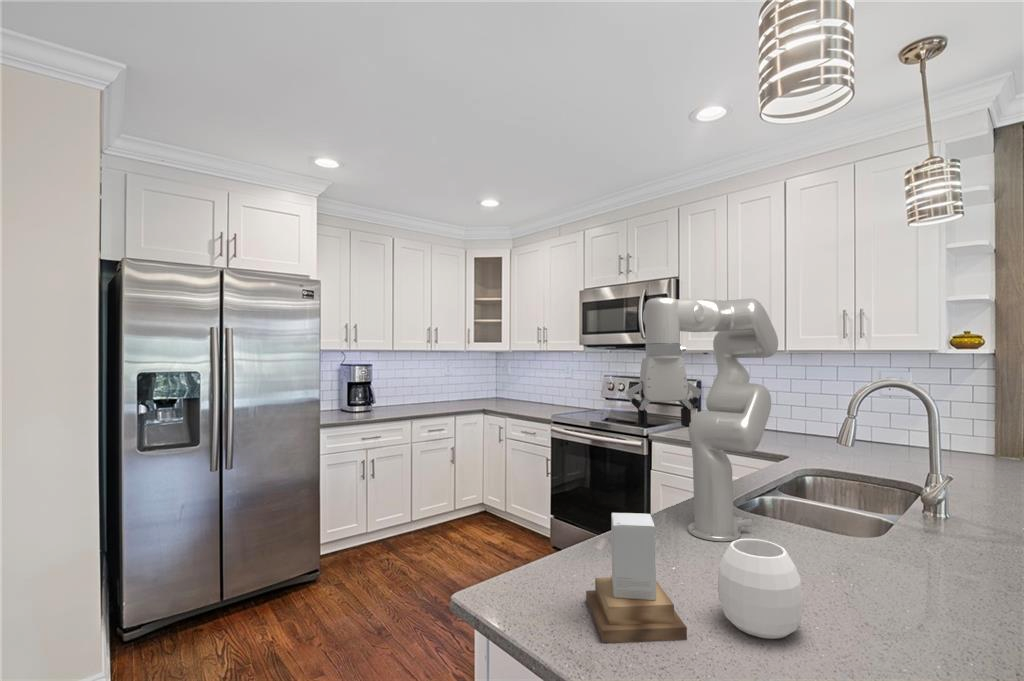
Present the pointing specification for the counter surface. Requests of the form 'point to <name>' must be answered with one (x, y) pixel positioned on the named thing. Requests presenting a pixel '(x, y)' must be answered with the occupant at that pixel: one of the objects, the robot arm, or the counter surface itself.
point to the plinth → (634, 629)
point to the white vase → (760, 588)
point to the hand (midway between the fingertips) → (664, 426)
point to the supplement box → (633, 556)
